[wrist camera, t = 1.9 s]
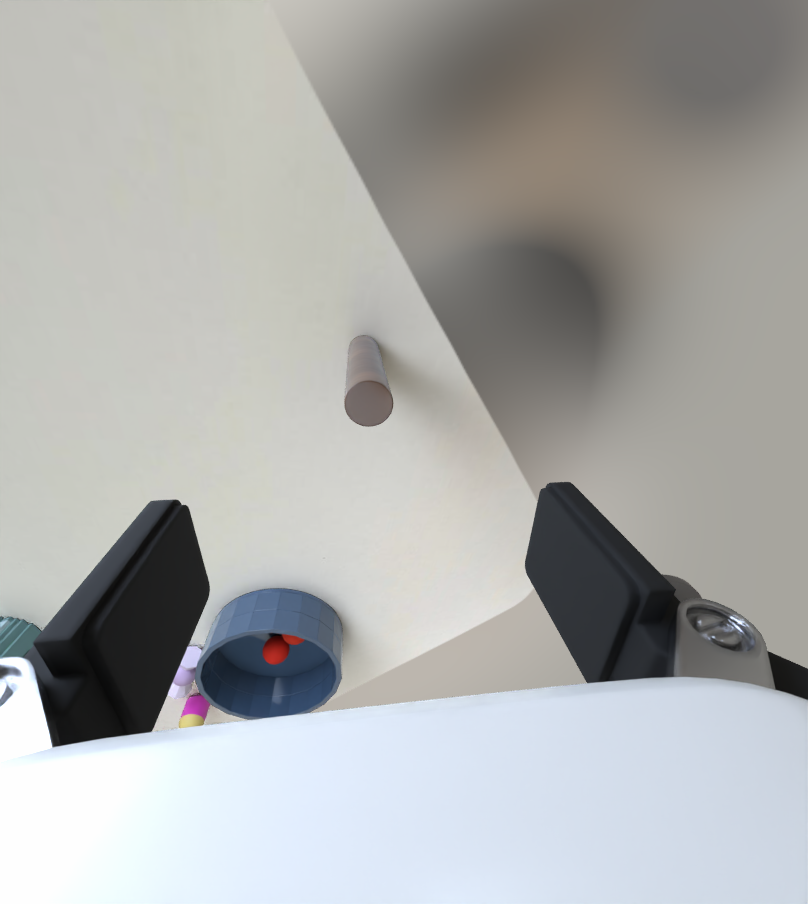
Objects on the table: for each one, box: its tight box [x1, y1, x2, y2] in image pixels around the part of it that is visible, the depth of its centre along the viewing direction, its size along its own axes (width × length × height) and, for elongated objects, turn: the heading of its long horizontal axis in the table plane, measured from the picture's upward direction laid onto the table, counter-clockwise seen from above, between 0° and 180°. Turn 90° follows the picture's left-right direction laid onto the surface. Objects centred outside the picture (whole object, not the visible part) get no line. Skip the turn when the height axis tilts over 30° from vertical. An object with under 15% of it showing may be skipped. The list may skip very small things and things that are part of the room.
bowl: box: [195, 589, 343, 720], centre depth 44 cm, size 15×15×6 cm
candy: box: [168, 646, 210, 728], centre depth 47 cm, size 18×8×6 cm, turn 154°
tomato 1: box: [263, 636, 290, 665], centre depth 45 cm, size 3×3×3 cm
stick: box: [345, 335, 393, 426], centre depth 27 cm, size 3×3×14 cm
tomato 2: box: [282, 634, 305, 645], centre depth 44 cm, size 3×3×3 cm
